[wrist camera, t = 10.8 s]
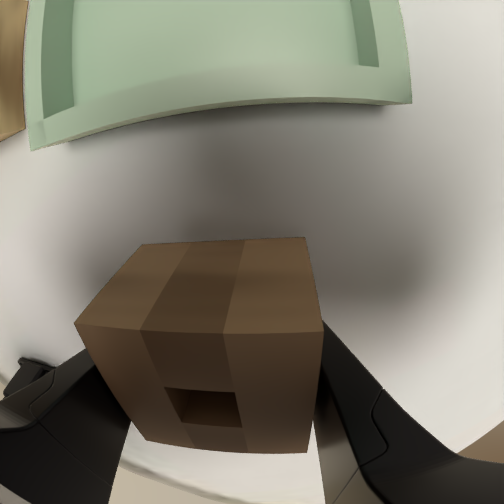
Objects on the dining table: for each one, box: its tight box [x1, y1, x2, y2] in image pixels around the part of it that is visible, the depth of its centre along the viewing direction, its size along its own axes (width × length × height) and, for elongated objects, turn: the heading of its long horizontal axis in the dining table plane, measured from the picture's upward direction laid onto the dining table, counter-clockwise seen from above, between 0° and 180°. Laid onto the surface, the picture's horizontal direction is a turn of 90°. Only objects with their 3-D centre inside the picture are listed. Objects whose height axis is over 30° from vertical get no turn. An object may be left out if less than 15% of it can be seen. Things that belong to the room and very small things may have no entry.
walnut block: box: [74, 237, 324, 454], centre depth 8 cm, size 5×5×4 cm
